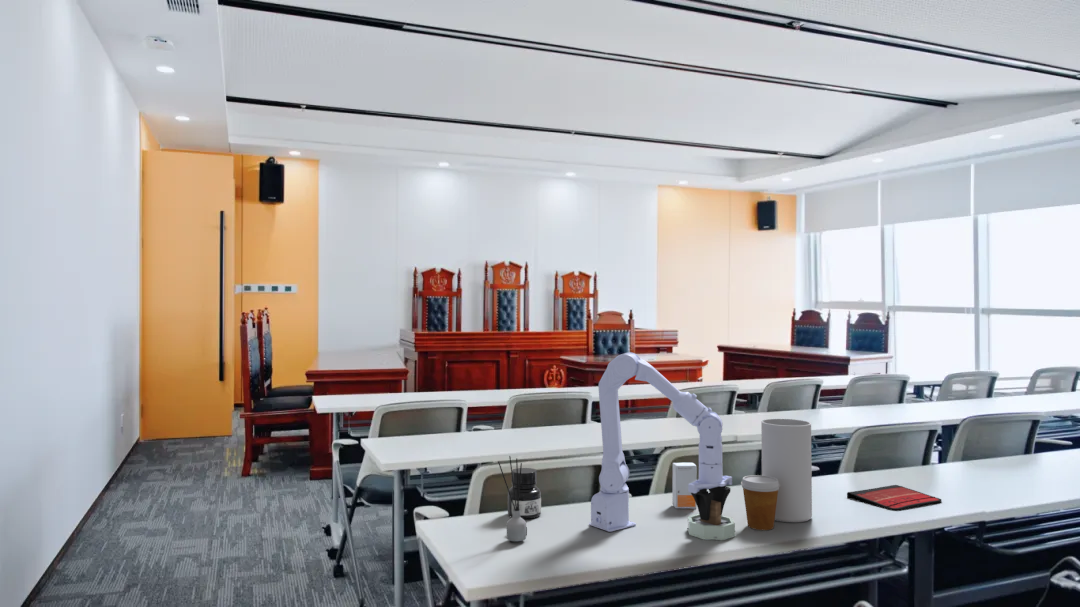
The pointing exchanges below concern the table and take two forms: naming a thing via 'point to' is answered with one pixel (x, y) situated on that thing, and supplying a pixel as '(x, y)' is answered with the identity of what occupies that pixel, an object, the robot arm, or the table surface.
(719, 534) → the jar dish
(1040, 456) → the table surface
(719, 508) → the wooden block
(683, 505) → the skincare box
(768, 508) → the disposable coffee cup
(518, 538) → the reed diffuser
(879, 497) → the binder
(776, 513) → the cylinder vase
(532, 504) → the ink bottle
